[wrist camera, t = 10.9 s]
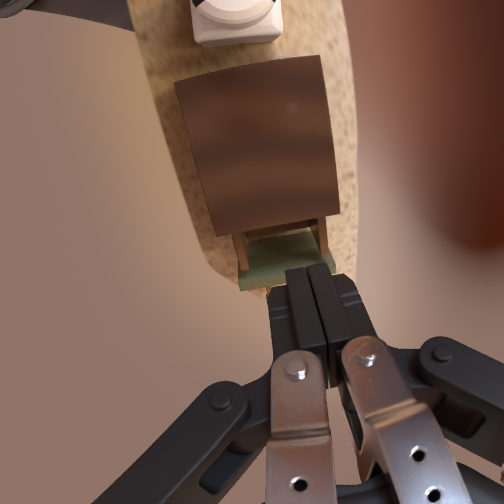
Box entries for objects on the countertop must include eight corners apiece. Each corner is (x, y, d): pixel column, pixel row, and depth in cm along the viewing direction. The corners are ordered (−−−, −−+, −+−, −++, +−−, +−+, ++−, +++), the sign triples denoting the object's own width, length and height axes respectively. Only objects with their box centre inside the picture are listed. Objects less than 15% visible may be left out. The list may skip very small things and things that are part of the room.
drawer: (324, 270, 41) (337, 307, 35) (248, 284, 42) (250, 324, 36) (308, 133, 32) (325, 150, 25) (213, 151, 32) (207, 172, 26)
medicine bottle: (197, -13, 23) (175, -51, 13) (268, -19, 23) (283, -61, 13) (203, 48, 27) (183, 36, 17) (274, 41, 27) (294, 26, 17)
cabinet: (318, 179, 35) (340, 213, 28) (221, 198, 36) (216, 237, 29) (299, 57, 28) (319, 54, 20) (190, 78, 29) (173, 82, 21)
